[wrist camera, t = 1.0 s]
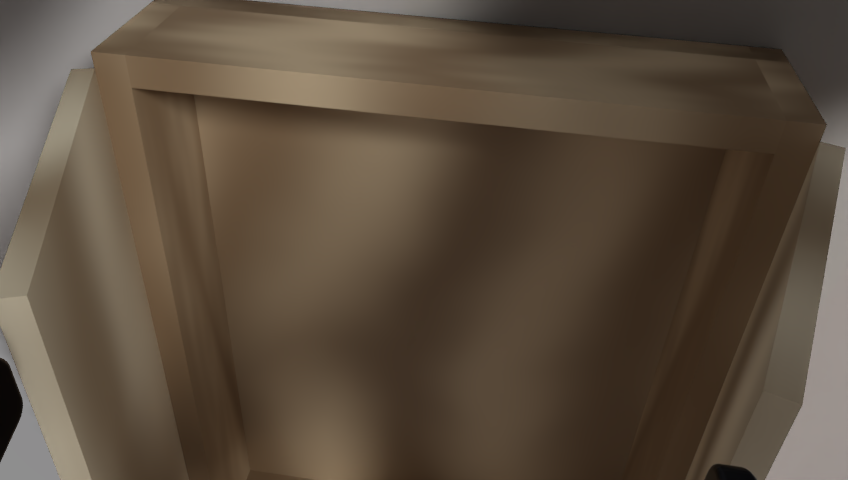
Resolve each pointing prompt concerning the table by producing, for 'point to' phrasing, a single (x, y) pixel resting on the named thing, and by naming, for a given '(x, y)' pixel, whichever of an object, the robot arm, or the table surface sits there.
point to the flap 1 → (86, 308)
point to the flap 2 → (776, 336)
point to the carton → (445, 236)
